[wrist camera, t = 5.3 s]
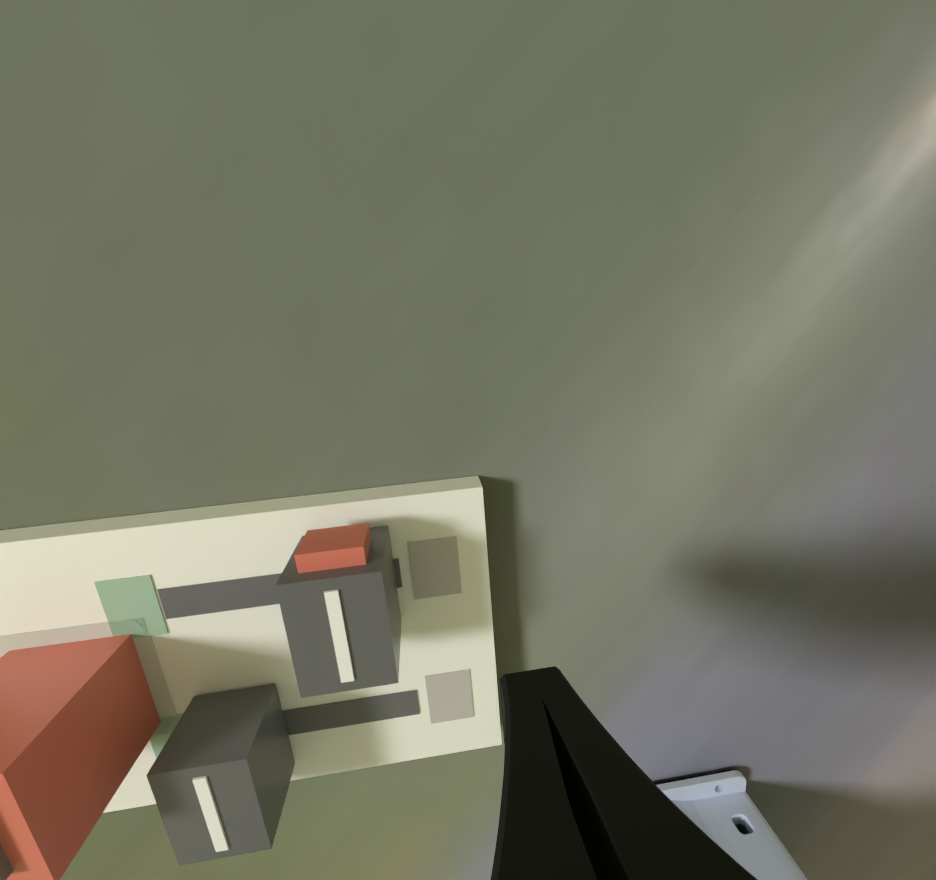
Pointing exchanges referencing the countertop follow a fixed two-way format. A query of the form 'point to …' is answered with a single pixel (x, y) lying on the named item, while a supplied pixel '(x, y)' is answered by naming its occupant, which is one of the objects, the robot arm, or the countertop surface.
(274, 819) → the block
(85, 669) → the cap
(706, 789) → the robot arm
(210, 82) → the countertop surface
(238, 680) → the board
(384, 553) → the breaker
